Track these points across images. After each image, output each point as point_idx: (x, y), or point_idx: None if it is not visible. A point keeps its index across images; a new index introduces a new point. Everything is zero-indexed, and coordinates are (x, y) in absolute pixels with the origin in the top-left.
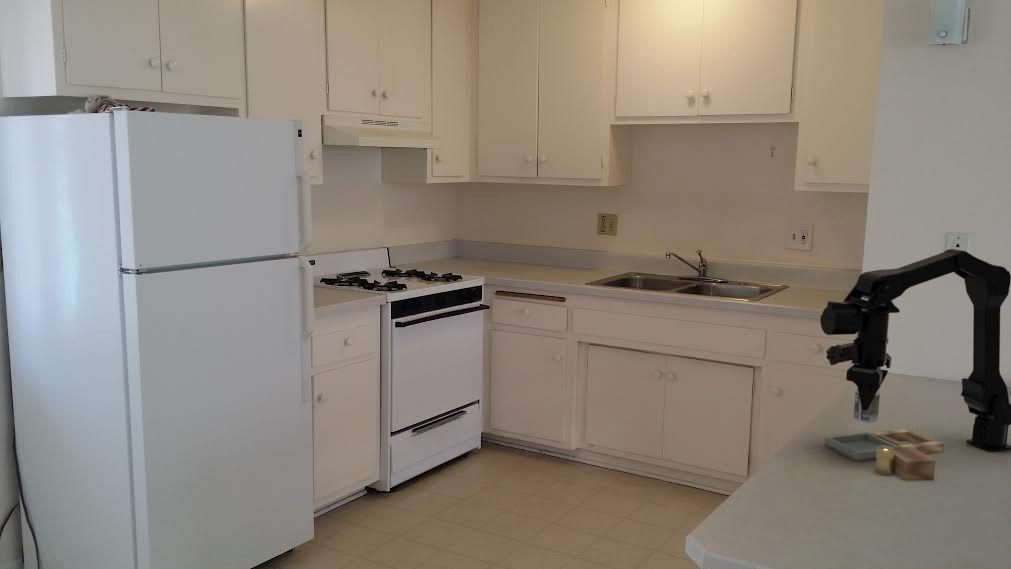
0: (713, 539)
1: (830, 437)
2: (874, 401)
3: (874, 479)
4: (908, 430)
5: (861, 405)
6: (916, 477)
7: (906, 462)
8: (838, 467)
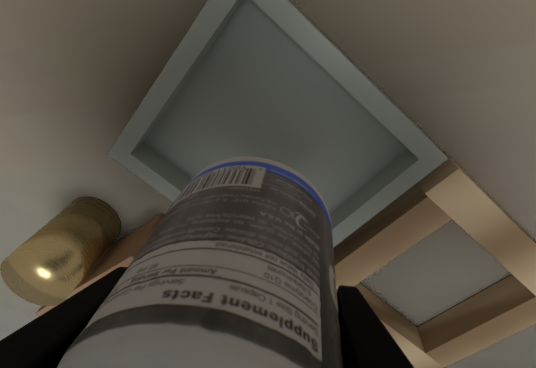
0: None
1: None
2: None
3: (11, 200)
4: None
5: (86, 289)
6: None
7: (39, 312)
8: (14, 79)
